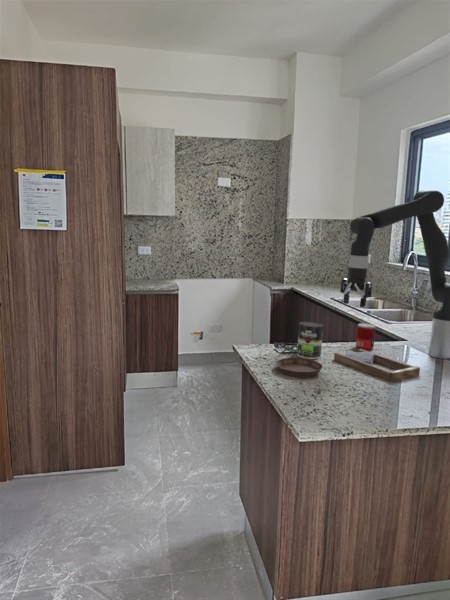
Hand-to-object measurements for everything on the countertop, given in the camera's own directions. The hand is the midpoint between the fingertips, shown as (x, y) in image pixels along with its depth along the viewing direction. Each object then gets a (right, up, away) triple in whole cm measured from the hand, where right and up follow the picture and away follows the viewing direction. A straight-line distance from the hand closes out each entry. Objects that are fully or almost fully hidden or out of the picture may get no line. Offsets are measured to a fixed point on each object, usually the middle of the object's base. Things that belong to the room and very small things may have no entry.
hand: (354, 305), depth 191 cm
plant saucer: (-25, -26, -15) cm, 39 cm away
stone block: (+2, -24, +1) cm, 24 cm away
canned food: (+12, -21, +24) cm, 33 cm away
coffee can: (-18, -22, +7) cm, 29 cm away
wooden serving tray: (+6, -25, -5) cm, 26 cm away
